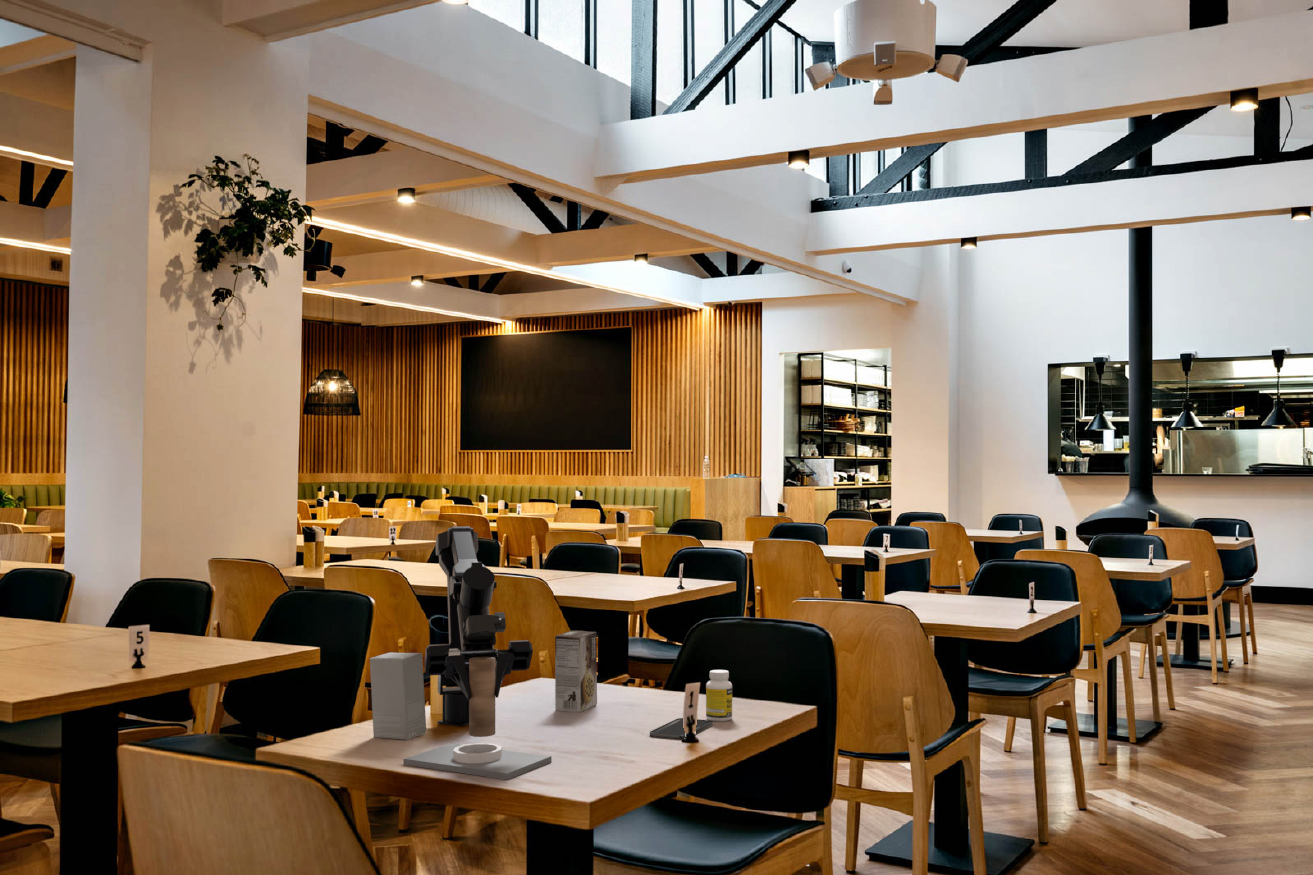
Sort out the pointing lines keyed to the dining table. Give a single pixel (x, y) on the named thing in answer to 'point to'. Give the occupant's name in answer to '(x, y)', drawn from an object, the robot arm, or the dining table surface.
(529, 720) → the dining table surface
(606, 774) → the dining table surface
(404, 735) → the skincare box
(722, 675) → the supplement bottle
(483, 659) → the walnut pin
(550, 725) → the dining table surface
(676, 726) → the phone
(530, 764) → the board
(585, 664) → the coffee box
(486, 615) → the robot arm
